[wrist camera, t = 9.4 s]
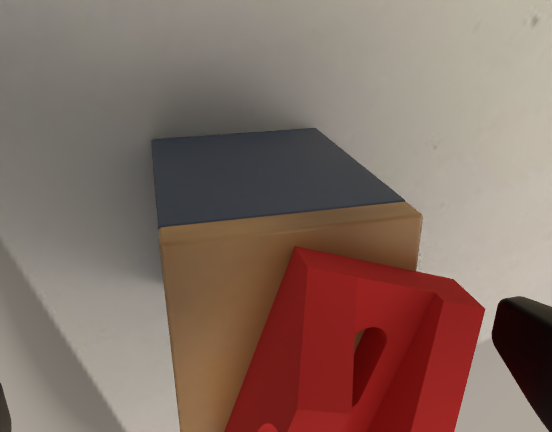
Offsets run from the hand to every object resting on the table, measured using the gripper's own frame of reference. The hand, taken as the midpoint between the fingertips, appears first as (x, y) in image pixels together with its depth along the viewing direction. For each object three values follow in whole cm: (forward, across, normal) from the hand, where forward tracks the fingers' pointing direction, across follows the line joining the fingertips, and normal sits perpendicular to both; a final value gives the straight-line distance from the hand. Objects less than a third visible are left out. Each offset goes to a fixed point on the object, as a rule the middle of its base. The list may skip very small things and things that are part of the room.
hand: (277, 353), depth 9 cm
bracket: (+4, -3, +4) cm, 6 cm away
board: (+4, -2, +3) cm, 5 cm away
